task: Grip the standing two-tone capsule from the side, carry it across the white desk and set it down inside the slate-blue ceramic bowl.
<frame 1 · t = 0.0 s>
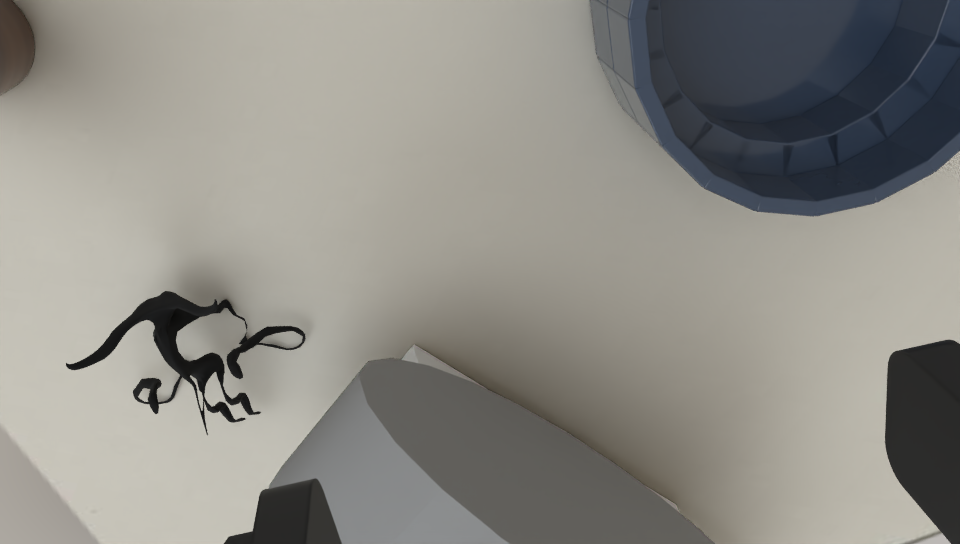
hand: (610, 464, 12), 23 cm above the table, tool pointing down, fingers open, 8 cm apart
alarm clock: (521, 461, 41), on the table
creature: (213, 342, 37), on the table
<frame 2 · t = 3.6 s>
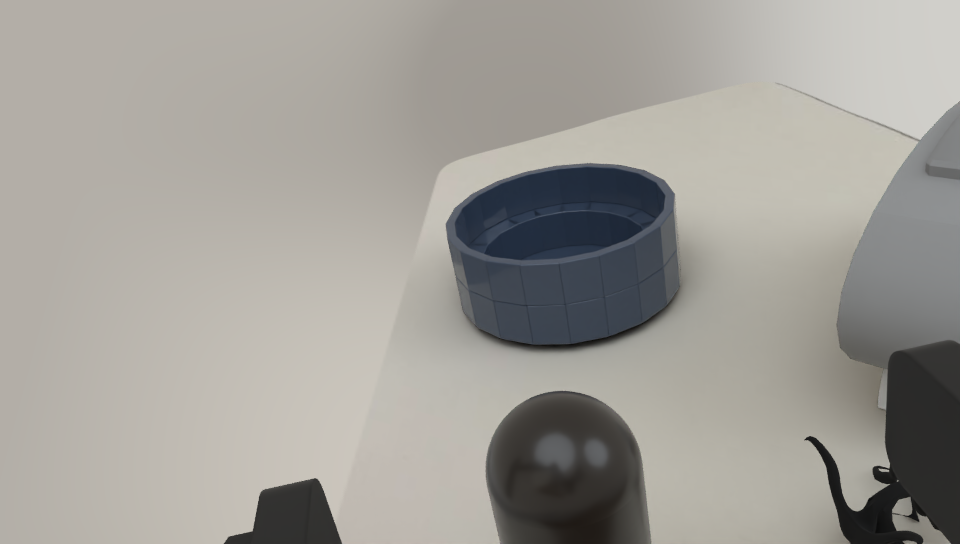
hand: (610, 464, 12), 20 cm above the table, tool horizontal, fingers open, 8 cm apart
bowl: (569, 290, 56), on the table
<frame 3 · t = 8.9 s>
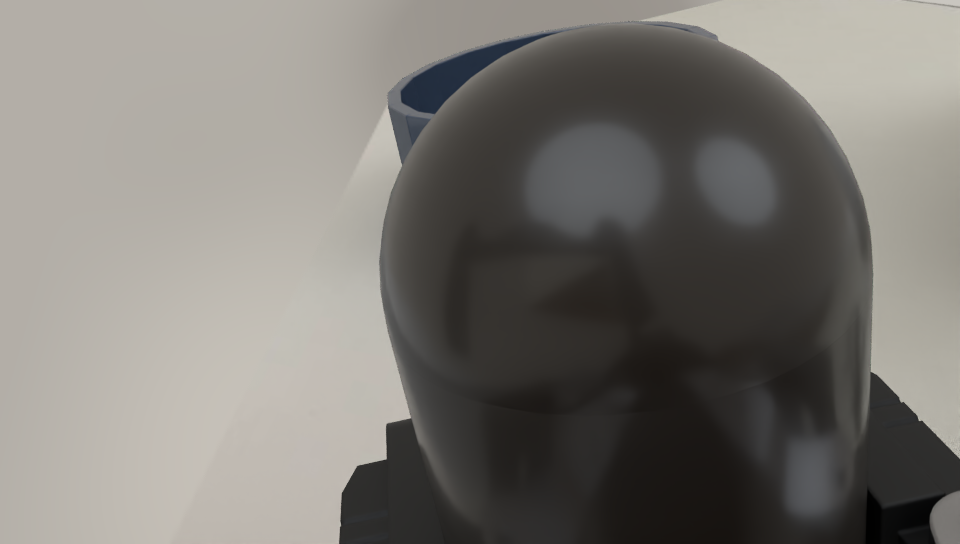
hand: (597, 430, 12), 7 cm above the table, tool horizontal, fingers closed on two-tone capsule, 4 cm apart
bowl: (567, 192, 39), on the table
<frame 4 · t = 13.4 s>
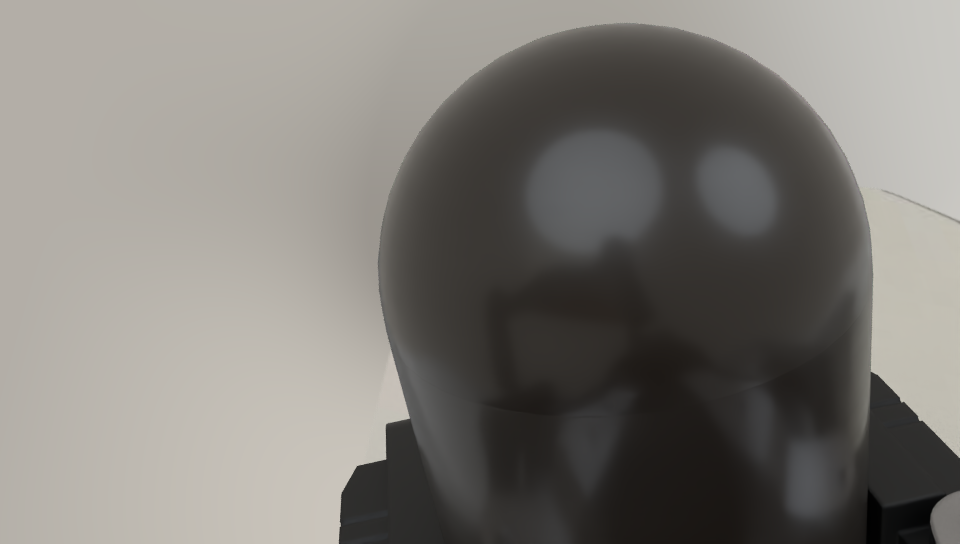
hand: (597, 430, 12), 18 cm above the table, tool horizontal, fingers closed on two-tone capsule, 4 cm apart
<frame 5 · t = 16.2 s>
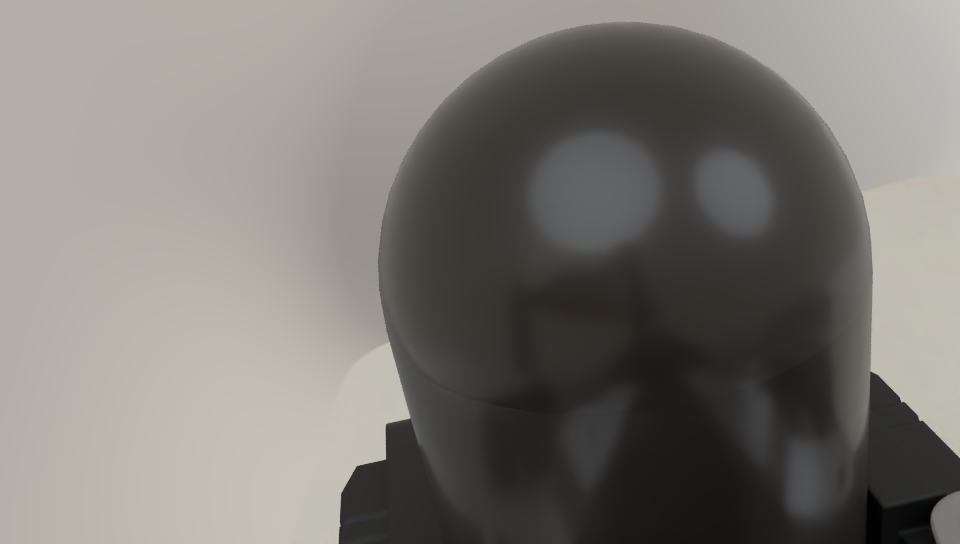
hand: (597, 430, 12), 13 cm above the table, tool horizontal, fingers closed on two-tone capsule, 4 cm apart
when the fingers open (8 cm above the table, at t = 18.1 s): two-tone capsule stays where it is, resting on bowl.
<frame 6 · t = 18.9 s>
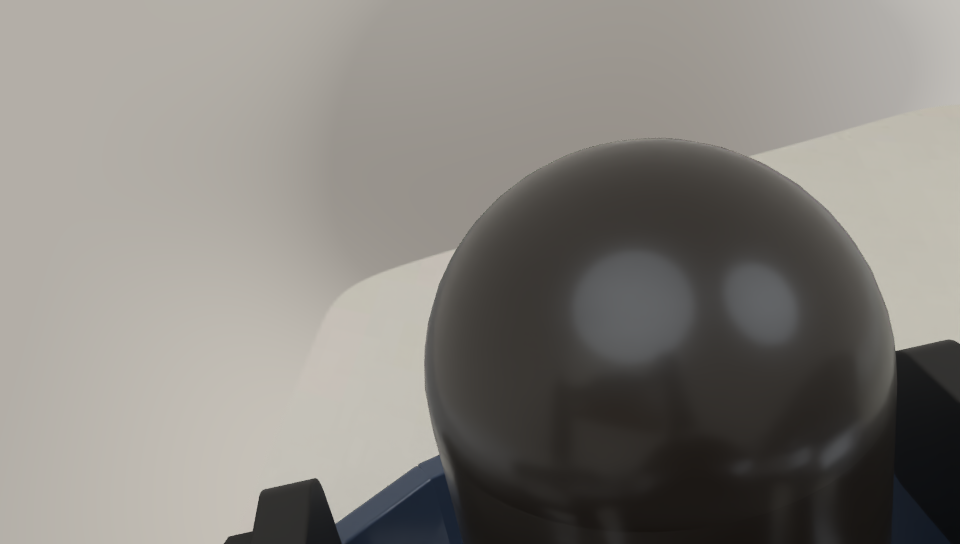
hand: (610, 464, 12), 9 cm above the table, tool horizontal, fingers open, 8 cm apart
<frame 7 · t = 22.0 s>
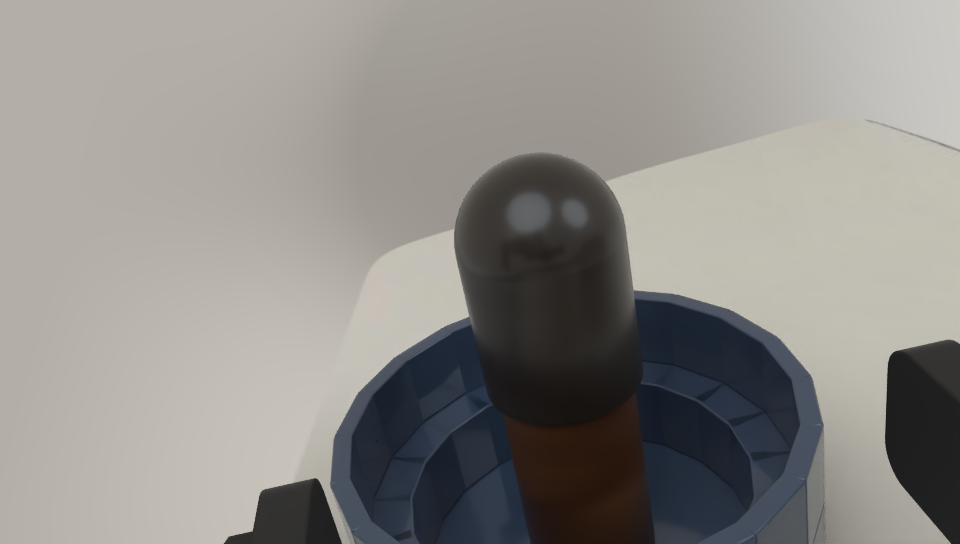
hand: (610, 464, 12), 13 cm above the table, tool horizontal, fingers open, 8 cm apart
two-tone capsule: (592, 540, 28), point 1 cm above the table, touching bowl
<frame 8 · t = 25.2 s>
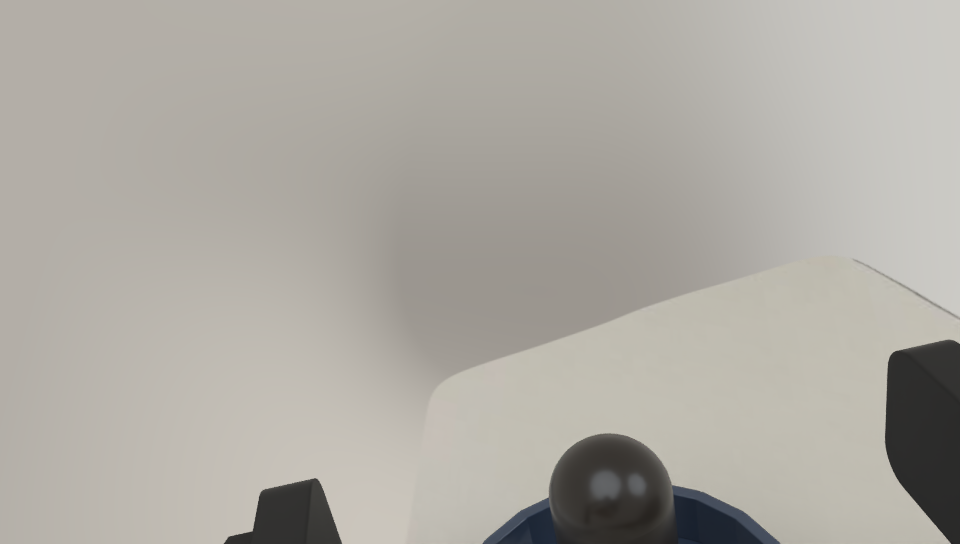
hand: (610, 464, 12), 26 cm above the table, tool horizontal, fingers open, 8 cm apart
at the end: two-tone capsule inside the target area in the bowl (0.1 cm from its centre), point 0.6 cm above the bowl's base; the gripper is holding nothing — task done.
